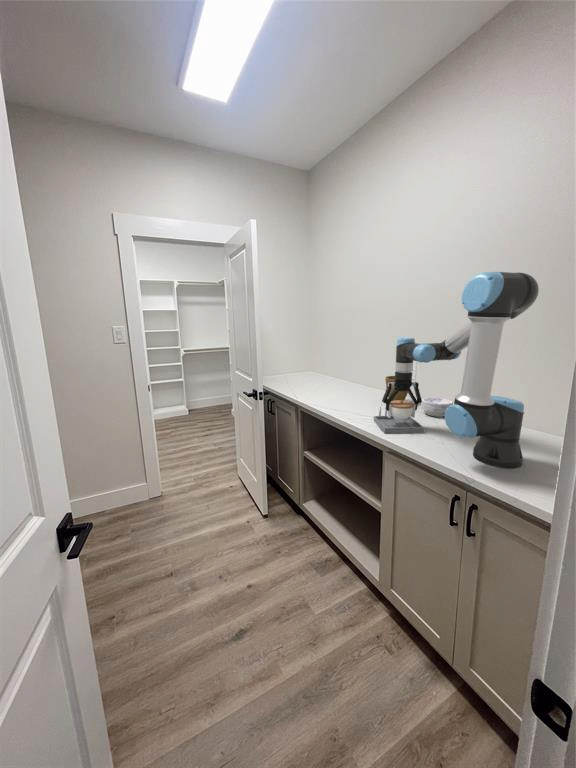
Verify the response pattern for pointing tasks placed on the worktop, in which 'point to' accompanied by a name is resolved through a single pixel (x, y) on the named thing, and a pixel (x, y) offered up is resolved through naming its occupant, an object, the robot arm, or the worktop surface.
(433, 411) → the paper bowls
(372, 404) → the worktop surface
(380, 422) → the dish rack
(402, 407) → the lidded jar
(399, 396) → the plant pot
